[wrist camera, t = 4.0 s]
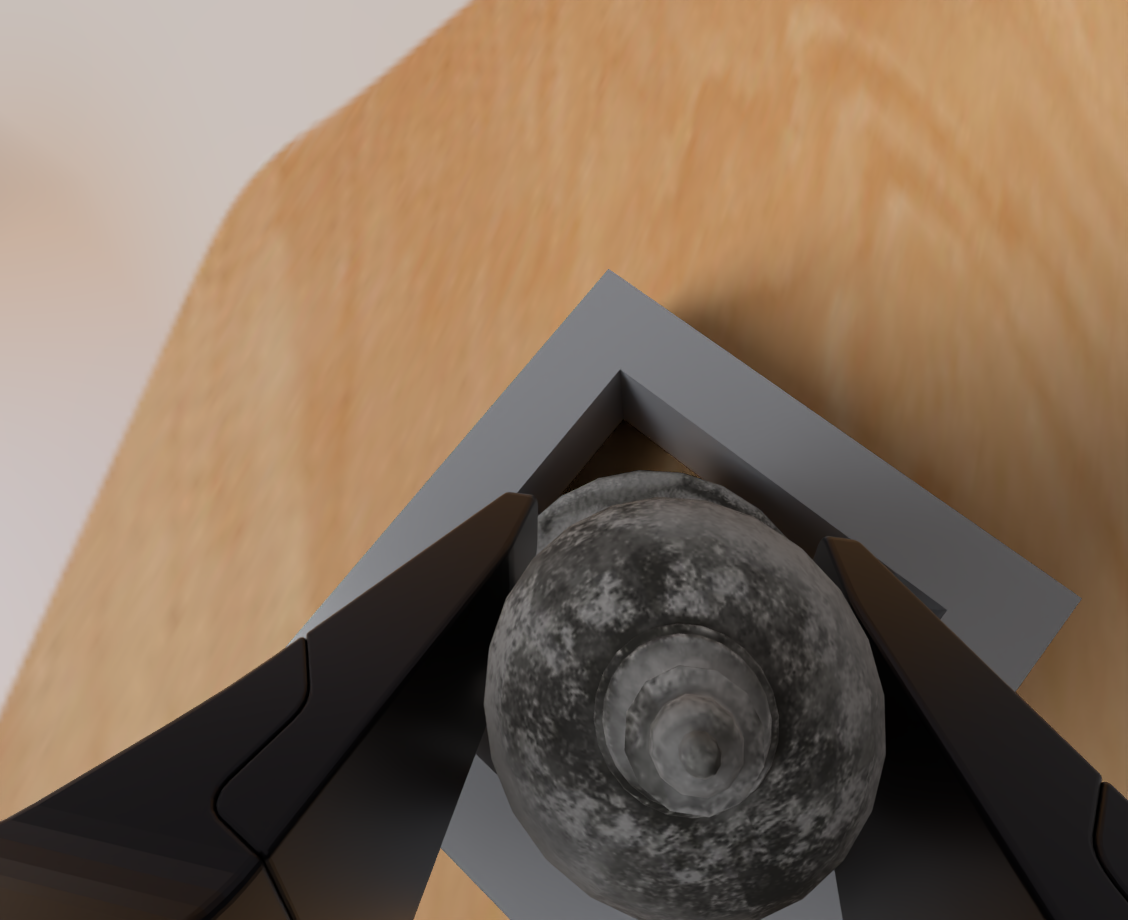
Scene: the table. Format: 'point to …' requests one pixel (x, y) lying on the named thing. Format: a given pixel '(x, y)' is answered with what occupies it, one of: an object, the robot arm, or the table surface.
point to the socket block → (722, 456)
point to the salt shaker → (682, 703)
